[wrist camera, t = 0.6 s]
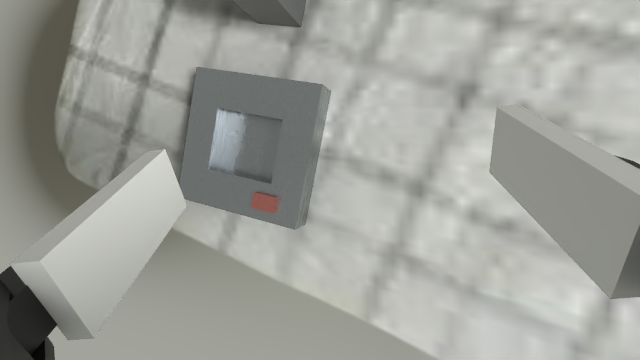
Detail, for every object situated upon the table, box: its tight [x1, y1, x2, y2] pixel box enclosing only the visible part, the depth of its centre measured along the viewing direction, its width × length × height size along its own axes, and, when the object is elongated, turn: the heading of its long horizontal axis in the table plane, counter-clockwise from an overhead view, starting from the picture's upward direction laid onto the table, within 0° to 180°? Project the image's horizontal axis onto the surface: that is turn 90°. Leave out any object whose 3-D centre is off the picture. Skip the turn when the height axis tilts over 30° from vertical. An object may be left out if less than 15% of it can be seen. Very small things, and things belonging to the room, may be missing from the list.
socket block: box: [179, 67, 331, 229], centre depth 34 cm, size 14×14×4 cm
